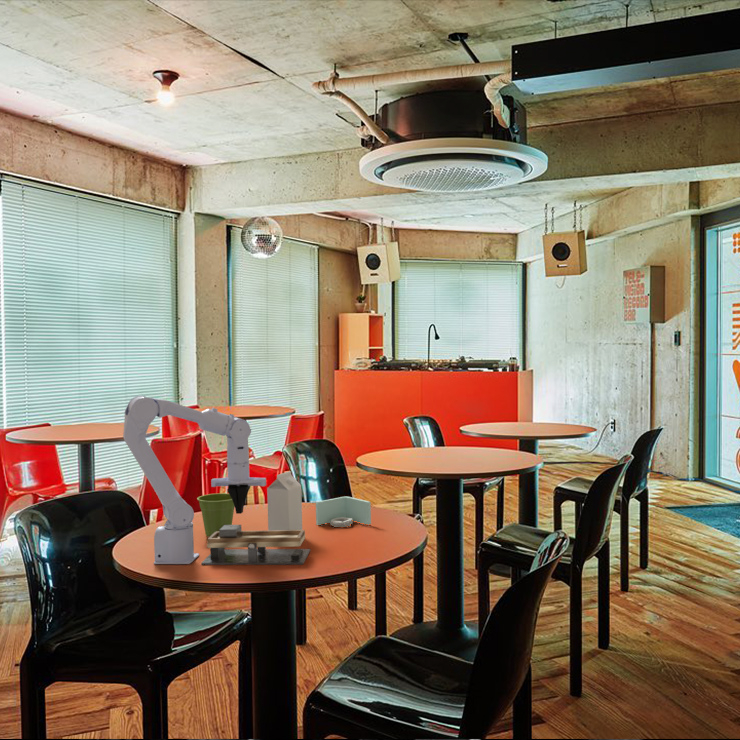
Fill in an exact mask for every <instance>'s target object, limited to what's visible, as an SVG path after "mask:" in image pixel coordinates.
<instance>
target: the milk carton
mask: <svg viewBox="0 0 740 740" xmlns="http://www.w3.org/2000/svg"><path fill="white" fill-rule="evenodd" d="M266 492H267V497H266V498H267V531H268V530H303V506H302V505H303V502H302V497H303V496H302V484H301V483H300V482H298V481H297V479H296V478H295V477H294V476H293V475H292V471H291V470H289V471H286V472H282V473H280V474H276V479H275V480H274V481H273V482H272V483H271V484H270V485H269V486H268V487H267V488H266Z"/></svg>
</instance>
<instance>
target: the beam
mask: <svg viewBox="0 0 740 740" xmlns="http://www.w3.org/2000/svg"><path fill="white" fill-rule="evenodd" d="M305 538H306V531H305V529H302V530H268V529H267V530H242V536H241V537H240V538H220V537H219V531H216V532H215V533H213V534H212V535H211V536H210V537H208V538H207V539H206V548H208V549H210V548H225V549H227V548H228V549H229V548H248V544H249V543H257V547H266V548H275V547H277V548H282V547H283V548H285V547H301V545H302V544H303V542H304V540H305Z"/></svg>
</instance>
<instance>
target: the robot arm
mask: <svg viewBox="0 0 740 740" xmlns="http://www.w3.org/2000/svg"><path fill="white" fill-rule="evenodd" d="M166 416H172V417H175V418H179V419H183V420H186V421H190V422H193V423H197V425H198V426H199V429H200V430H203V431H206V432H209V433H212V434H216V435H219V436H226V437H227V439H226V440H227V441H226V444H227V445H226V446H227V447H226V455H227V459H226V460H227V461H226V462H227V477H221V478H220V477H218V478H212V479H210V480H211V481H210V482H211V483H210V484H211V488H216V487H227V489H226V490H227V493H228V494H229V495H230V496H231V498H232V501H233V503H234V506H235V507H234V511H235V514H237V515H239V514H241V515H242V514H243V513H244V506H245V503H246V498H247V495H248V493H249V491H250V489H251V487H265V486H267V477H254V476H253V477H250V453H249V451H250V450H249V449H250V446H249V437H250V436H251V433H252V428H251V426H250V424H249V422H247V421H246V420H245V419H242V418H240V417H237V416H235V414H231V413H230V414H226V413H224V412H220V411H219V409H218V408H215V407H211V408H206V409H203V410H202V411H200V410H197V409H194V408H191V407H188V406H185V405H183V404H180V403H176V402H173V401H170V400H167V399H162V398H154V397H147V396H145V395H136V396H135V397H133V398H131V399H130V400H129V402H128V403H127V406H126V407H125V410H124V421H123V431H122V432H123V435H122V437H123V441H124V442H125V445H127V448H129V450H130V452H131V453H132V455H133V457H134V459H135V461H136V462H137V464H138V465H139V466H140V469H141V470H142V472H143V474H144V476H145V477H146V479H147V480H148V482H149V483H150V485H151V488H153V490H154V492H155V493H156V495H157V497H158V499H159V501H160V503H161V504H162V511H163V512H162V513H163V515H164V517H165V518H166V521H165V523H164V526H163V525H160V526H158V527H156V529H155V531H154V538H153V543H154V544H153V545H154V549H153V551H154V562H153V564H154V565H190V564H191V563H192V562H194V561H195V560H196V559H197V558H198V557H199V556H200V553H197V552H196V553H195V552H194V550H195V548H194V547H195V546H194V544H195V543H194V523H193V520H194V518H195V512H194V509H193V507H192V506H191V505H190V504H188V503H187V502H186V500H184V499H183V498H182V496H181V495H180V493H179V491H177V489H176V488H175V486H174V484H173V482H172V480H171V479H170V477H169V475H168V474H167V473H166V471H165V469H164V467H163V466H162V464H161V462H160V460H159V459H158V457H157V455H156V454H155V452H154V450H153V449H152V447H151V445H150V444H149V442H148V440H147V439H146V435H147V432H148V429H149V426H150V425H151V424H152V422H153V421H154V420H155V419H156V417H158V418H163V417H166Z"/></svg>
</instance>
